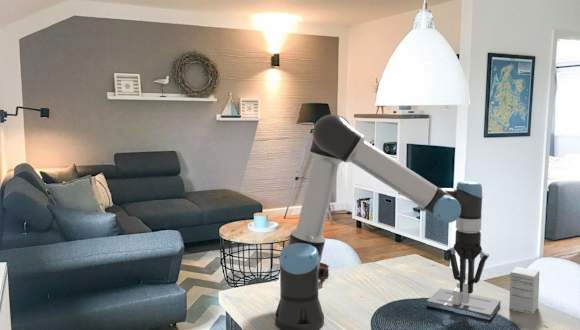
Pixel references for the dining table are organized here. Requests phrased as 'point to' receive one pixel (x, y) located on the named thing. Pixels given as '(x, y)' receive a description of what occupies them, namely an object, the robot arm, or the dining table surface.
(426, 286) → the dining table surface
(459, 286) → the block
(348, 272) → the dining table surface
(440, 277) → the dining table surface
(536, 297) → the supplement box
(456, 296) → the fader near
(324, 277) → the pottery mug
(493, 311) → the plate
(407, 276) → the dining table surface
